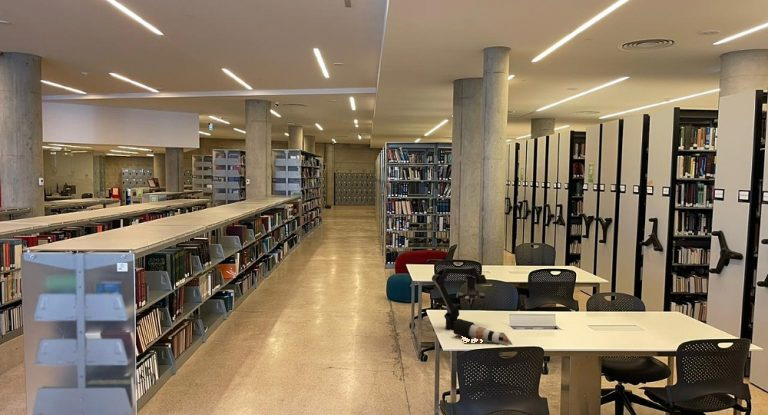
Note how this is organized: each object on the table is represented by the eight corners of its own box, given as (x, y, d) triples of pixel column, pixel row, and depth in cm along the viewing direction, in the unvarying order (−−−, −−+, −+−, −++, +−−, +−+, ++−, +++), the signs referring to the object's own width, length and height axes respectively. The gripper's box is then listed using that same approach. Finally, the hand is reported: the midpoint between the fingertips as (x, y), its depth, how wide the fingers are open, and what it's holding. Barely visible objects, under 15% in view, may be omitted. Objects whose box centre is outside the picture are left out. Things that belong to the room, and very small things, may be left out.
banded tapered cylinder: (505, 352, 325) (504, 340, 320) (454, 337, 343) (452, 325, 338) (511, 341, 332) (510, 329, 327) (460, 327, 350) (459, 315, 345)
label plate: (463, 343, 328) (463, 343, 327) (458, 332, 353) (458, 331, 353) (512, 344, 327) (512, 344, 327) (503, 332, 353) (503, 332, 353)
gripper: (458, 287, 357) (458, 310, 358) (486, 287, 357) (486, 311, 358) (456, 284, 368) (456, 306, 369) (483, 284, 368) (483, 307, 369)
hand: (470, 308), depth 366 cm, fingers closed
